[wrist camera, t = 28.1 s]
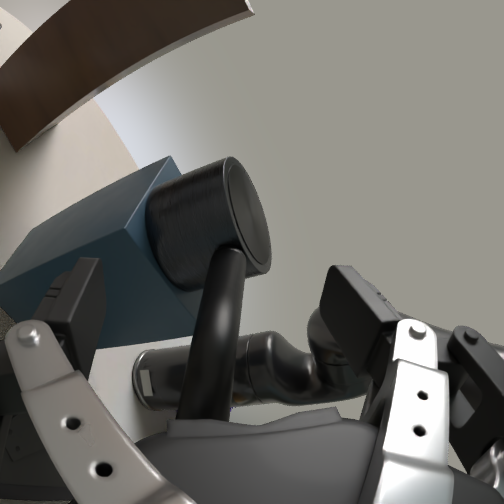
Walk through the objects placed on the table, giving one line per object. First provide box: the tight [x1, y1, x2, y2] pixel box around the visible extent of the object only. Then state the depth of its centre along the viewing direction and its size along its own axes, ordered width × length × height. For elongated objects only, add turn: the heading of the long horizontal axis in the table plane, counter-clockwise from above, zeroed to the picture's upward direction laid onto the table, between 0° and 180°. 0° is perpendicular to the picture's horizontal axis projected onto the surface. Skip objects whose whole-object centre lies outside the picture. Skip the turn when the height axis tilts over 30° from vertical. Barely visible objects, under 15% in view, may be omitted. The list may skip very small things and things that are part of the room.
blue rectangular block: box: [0, 156, 203, 349], centre depth 26 cm, size 10×10×20 cm
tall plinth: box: [0, 0, 255, 152], centre depth 25 cm, size 10×10×30 cm
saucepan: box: [145, 157, 271, 422], centre depth 17 cm, size 20×8×6 cm, turn 171°
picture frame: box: [0, 413, 74, 501], centre depth 19 cm, size 13×2×18 cm
